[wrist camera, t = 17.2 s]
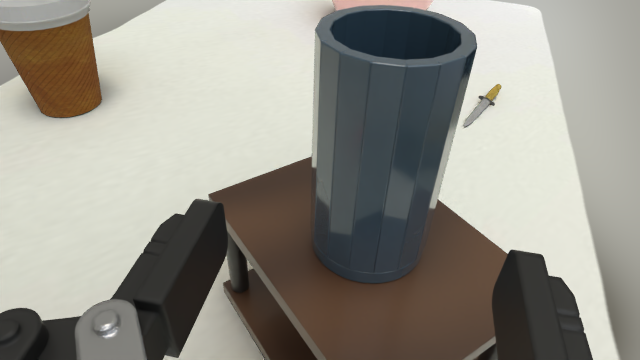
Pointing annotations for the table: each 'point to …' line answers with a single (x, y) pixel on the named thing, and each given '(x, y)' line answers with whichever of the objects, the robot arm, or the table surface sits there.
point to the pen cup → (382, 134)
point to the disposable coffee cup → (53, 53)
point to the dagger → (483, 104)
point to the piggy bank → (382, 3)
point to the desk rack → (352, 283)
